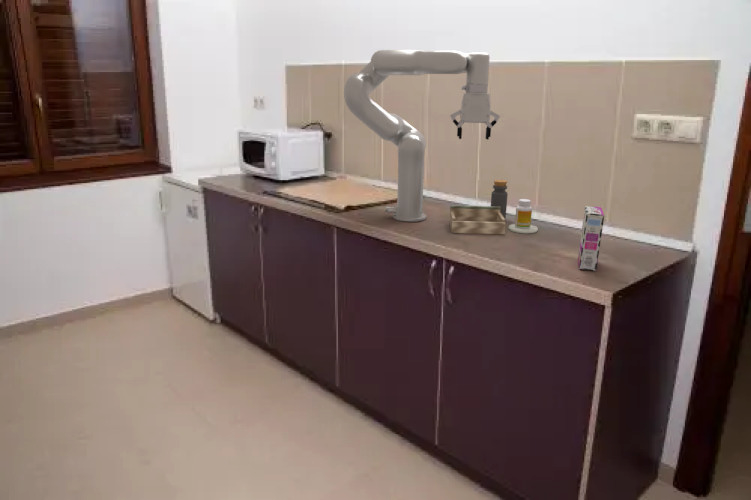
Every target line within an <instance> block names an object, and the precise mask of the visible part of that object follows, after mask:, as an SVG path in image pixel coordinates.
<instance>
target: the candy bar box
mask: <svg viewBox="0 0 751 500" xmlns="http://www.w3.org/2000/svg"><path fill="white" fill-rule="evenodd" d="M604 221H605V214H604V210H603V208H602V207H600V206H589V205H588V206H587V205H586V206H584V211H583V217H582V226H581V234H580V241H579V249H578V255H577V256H578V257H577V261H578V269H579V270H580V269H583V270H582V271H588V270H593V271H592V272H597V268H598V262H599V254H600V248H601V240H602V233H603V229H604V227H603V226H604Z"/></svg>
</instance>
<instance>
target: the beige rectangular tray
mask: <svg viewBox="0 0 751 500" xmlns="http://www.w3.org/2000/svg"><path fill="white" fill-rule="evenodd" d="M500 210H501V207H495V206H491V205H489V206H487V205H453V204H452V205H451V204H450V206H449V220H448V221H449V222H448V223H449V227H450V230H451V233H453V234H477V235H478V234H479V235H480V234H481V235H484V234H485V235H506V234H505V233H506V219H505V218H504V217H503V215H502V214H501V213H500Z"/></svg>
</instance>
